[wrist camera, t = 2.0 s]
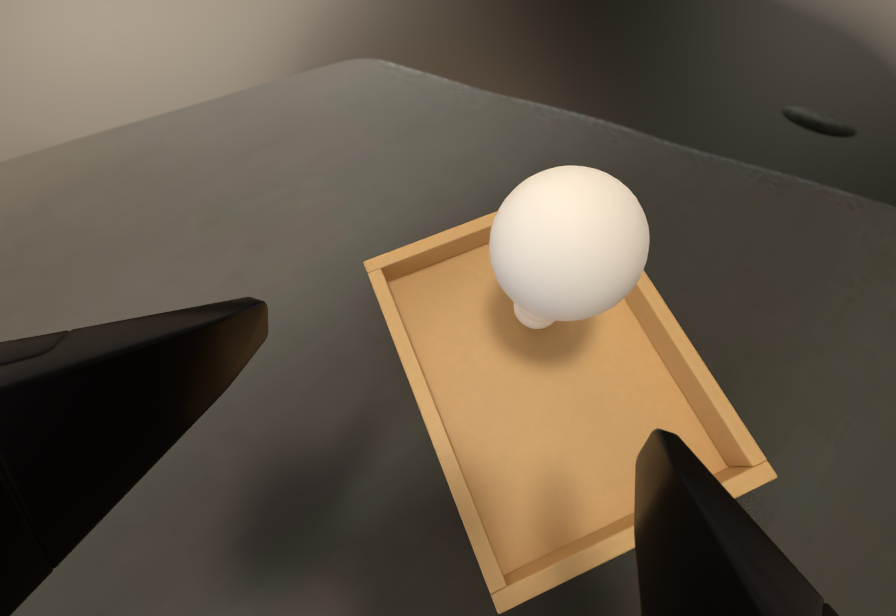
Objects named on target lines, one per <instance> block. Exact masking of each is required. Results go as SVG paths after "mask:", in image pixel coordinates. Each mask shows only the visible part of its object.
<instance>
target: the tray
mask: <svg viewBox="0 0 896 616" xmlns="http://www.w3.org/2000/svg"><path fill="white" fill-rule="evenodd" d="M497 212H498V211H496V212H494V213H491V214H488V215H486V216H483V217H480V218H478V219H475V220H473V221H470V222H467V223H465V224H462V225H459V226H457V227H454V228H451V229H449V230H446V231H443V232H441V233H438V234H435V235H433V236H430V237H428V238H425V239H422V240H420V241H417V242H414V243H412V244H409V245H406V246H404V247H401V248H398V249H396V250H393V251H390V252H388V253H385V254H383V255H380V256H377V257H375V258H372V259H369V260H367V261H364V265H365V268H366V270H367V273H368V276H369V278H370V281H371V284H372V286H373V289H374V291H375V294H376V297H377V299H378V302H379V305H380V307H381V310H382V312H383V315H384V318H385V320H386V323H387V325H388V328H389V331H390V333H391V336H392V338H393V341H394V344H395V346H396V349H397V352H398V354H399V357H400V359H401V362H402V365H403V367H404V370H405V372H406V375H407V378H408V380H409V383H410V386H411V388H412V391H413V393H414V396H415V399H416V401H417V404H418V406H419V409H420V412H421V414H422V417H423V419H424V422H425V425H426V427H427V430H428V433H429V435H430V438H431V440H432V443H433V446H434V448H435V451H436V453H437V456H438V459H439V461H440V464H441V467H442V469H443V472H444V474H445V477H446V480H447V482H448V485H449V487H450V490H451V493H452V495H453V498H454V501H455V503H456V506H457V508H458V511H459V514H460V516H461V519H462V521H463V524H464V527H465V529H466V532H467V534H468V537H469V540H470V542H471V545H472V548H473V550H474V553H475V555H476V558H477V561H478V563H479V566H480V568H481V571H482V574H483V576H484V579H485V582H486V584H487V587H488V589H489V592H490V593H491V597H492V600H493V602H494V605H495V608H496V610H497V612H498V614H501V613H503V612H505V611H507V610H509V609H511V608H513V607H515V606H517V605H519V604H521V603H523V602H525V601H527V600H529V599H531V598H533V597H535V596H537V595H539V594H541V593H544V592H546V591H548V590H550V589H552V588H554V587H556V586H558V585H560V584H562V583H564V582H566V581H568V580H570V579H572V578H574V577H576V576H578V575H580V574H582V573H584V572H586V571H588V570H590V569H592V568H594V567H596V566H598V565H601V564H603V563H605V562H607V561H609V560H611V559H613V558H615V557H617V556H619V555H621V554H623V553H625V552H627V551H629V550H631V549H633V548H635V542H634V501H635V464H636V459H637V456H638V454H639V452H640V450H641V449H642V447H643V445H644V444H645V442H646V440H647V439H648V437H649V435H650V434H651V432H652V431H653V430H654V429H657V428H660V429H663V430H666V431H669V432H672V433H675V434H677V435H678V436H679V437H680V438H681V439H682V440H683V441H684V443H685V444H686V445H687V446H688V447H689V448H690V449H691V450H692V452H693V453H694V454H695V455H696V456H697V457H698V458H699V459H700V461H701V462H702V463H703V464H704V465H705V466H706V467H707V468H708V470H709V471H710V472H711V473H712V474H713V475H714V476H715V477H716V479H717V480H718V481H719V482H720V483H721V484H722V485H723V486H724V488H725V489H726V490H727V491H728V492H729V493H730V494H731V495H732V496H733V498H734V499H735V498H737V497H739V496H741V495H743V494H745V493H747V492H749V491H751V490H753V489H755V488H757V487H759V486H761V485H763V484H765V483H767V482H769V481H772V480H774V479H776V478H777V475H776V473H775V472H774V470H773V469H772V467H771V466H770V464H769V463H768V462H767V461H766V458H765V456H764V454H763V453H762V451H761V450H760V448H759V447H758V445H757V444H756V442H755V441H754V439H753V438H752V436H751V434H750V433H749V431H748V430H747V428H746V427H745V425H744V424H743V422H742V421H741V419H740V418H739V416H738V414H737V413H736V411H735V410H734V408H733V407H732V405H731V404H730V402H729V401H728V399H727V398H726V396H725V394H724V393H723V391H722V390H721V388H720V387H719V385H718V384H717V382H716V381H715V379H714V378H713V376H712V375H711V373H710V371H709V370H708V368H707V367H706V365H705V364H704V362H703V361H702V359H701V358H700V356H699V355H698V353H697V351H696V350H695V348H694V347H693V345H692V344H691V342H690V341H689V339H688V338H687V336H686V335H685V333H684V331H683V330H682V328H681V327H680V325H679V324H678V322H677V321H676V319H675V318H674V316H673V315H672V313H671V311H670V310H669V308H668V307H667V305H666V304H665V302H664V301H663V299H662V298H661V296H660V295H659V293H658V291H657V290H656V288H655V287H654V285H653V284H652V282H651V281H650V279H649V278H648V276H647V275H646V273H645V271H644V270H643V271H642V273H641V276H640V278H639V281H638V282H637V283H636V285H635V286H634V287H633V289H632V290H631V292H630V293H629V294H628V295H627V296H626V297H625V298H624V299H622V300H621V301H620V302H619V303H618V304H617V305H615V306H614V307H613V308H611V309H609V310H607V311H605V312H603V313H601V314H599V315H596V316H593V317H590V318H586V319H583V320H577V321H567V322H566V321H555V322H553V323H552V324H551V325H550V326H548V327H546V328H543V329H532V328H529V327H527V326H525V325H523V324H522V323H521V322H520V321H519V320H518V319H517V317H516V315H515V313H514V302H513V301H512V300H511V298H510V297H509V296H508V295H507V294H506V293H505V292H504V290H503V289H502V287H501V286H500V284H499V283H498V281H497V278H496V276H495V273H494V270H493V268H492V265H491V261H490V254H489V241H490V231H491V227H492V224H493V221H494V218H495V216H496V214H497Z"/></svg>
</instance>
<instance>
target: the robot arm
mask: <svg viewBox="0 0 896 616" xmlns="http://www.w3.org/2000/svg"><path fill="white" fill-rule="evenodd" d="M267 335H268V308H267V304H266V303H265V302H264V301H261V300H258V299H255V298H252V297H245V298H239V299H234V300H229V301H223V302H218V303H213V304H207V305H202V306H196V307H191V308H186V309H180V310H175V311H170V312H164V313H159V314H153V315H148V316H143V317H137V318H132V319H127V320H121V321H116V322H111V323H105V324H100V325H94V326H89V327H84V328H78V329H73V330H71V331H70V332H69V331H62V332H56V333H51V334H46V335H40V336H34V337H29V338H23V339H17V340H11V341H5V342H0V616H10V615H11V614H12V613H13V612H14V611H15V610H16V609H17V608H18V607H19V606H20V605H21V604H22V603H23V602H24V601H25V599H26V598H27V597H28V596H29V595H30V594H31V593H32V592H33V591H34V590H35V589H36V588H37V587H38V586H39V585H40V584H41V583H42V582H43V581H44V580H45V579H46V578H47V577H48V576H49V574H50V573H51V572H52V571H53V568H56V567H57V566H58V565H59V564H60V563H61V562H62V561H63V560H64V558H65V557H66V556H67V555H68V554H69V553H70V552H71V551H72V550H73V549H74V548H75V547H76V546H77V545H78V544H79V543H80V542H81V541H82V540H83V539H84V538H85V537H86V536H87V535H88V533H89V532H90V531H91V530H92V529H93V528H94V527H95V526H96V525H97V524H98V523H99V522H100V521H101V520H102V519H103V518H104V517H105V516H106V515H107V514H108V513H109V512H110V511H111V509H112V508H113V507H114V506H115V505H116V504H117V503H118V502H119V501H120V500H121V499H122V498H123V497H124V496H125V495H126V494H127V493H128V492H129V491H130V490H131V489H132V488H133V487H134V486H135V484H136V483H137V482H138V481H139V480H140V479H141V478H142V477H143V476H144V475H145V474H146V473H147V472H148V471H149V470H150V469H151V468H152V467H153V466H154V465H155V464H156V463H157V462H158V461H159V459H160V458H161V457H162V456H163V455H164V454H165V453H166V452H167V451H168V450H169V449H170V448H171V447H172V446H173V445H174V444H175V443H176V442H177V441H178V440H179V439H180V438H181V437H182V436H183V434H184V433H185V432H186V431H187V430H188V429H189V428H190V427H191V426H192V425H193V424H194V423H195V422H196V421H197V420H198V419H199V418H200V417H201V416H202V415H203V414H204V413H205V412H206V411H207V409H208V408H209V407H210V406H211V405H212V404H213V403H214V402H215V401H216V400H217V399H218V398H219V397H220V396H221V395H222V394H223V393H224V392H225V390H226V389H227V388H228V387H229V386H230V385H231V383H232V382H233V381H234V380H235V378H236V377H237V376H238V375H239V373H240V372H241V371H242V369H243V368H244V367H245V366H246V364H247V363H248V362H249V360H250V359H251V358H252V357H253V355H254V354H255V353H256V351H257V350H258V349H259V348H260V346H261V345H262V344H263V342H264V341H265V339H266V338H267ZM634 542H635V554H636V564H637V575H638V586H639V596H640V607H641V616H839V615H838V614H837V613H836V612H835V611H834V610H833V609H832V607H831V606H830V605H829V604H827V603H824V599H823V598H822V596H821V595H820V594H819V593H818V592H817V591H816V590H815V589H814V587H813V586H812V585H811V584H810V583H809V582H808V581H807V580H806V578H805V577H804V576H803V575H802V574H801V573H800V572H799V571H798V569H797V568H796V567H795V566H794V565H793V564H792V563H791V562H790V560H789V559H788V558H787V557H786V556H785V555H784V554H783V553H782V551H781V550H780V549H779V548H778V547H777V546H776V545H775V544H774V543H773V541H772V540H771V539H770V538H769V537H768V536H767V535H766V534H765V532H764V531H763V530H762V529H761V528H760V527H759V526H758V525H757V523H756V522H755V521H754V520H753V519H752V518H751V517H750V516H749V514H748V513H747V512H746V511H745V510H744V509H743V508H742V507H741V505H740V504H739V503H738V502H737V501H736V500H735V499H734V498H733V496H732V495H731V494H730V493H729V492H728V491H727V490H726V489H725V488H724V486H723V485H722V484H721V483H720V482H719V481H718V480H717V479H716V477H715V476H714V475H713V474H712V473H711V472H710V471H709V470H708V468H707V467H706V466H705V465H704V464H703V463H702V462H701V461H700V459H699V458H698V457H697V456H696V455H695V454H694V453H693V452H692V450H691V449H690V448H689V447H688V446H687V445H686V444H685V443H684V441H683V440H682V439H681V438H680V437H679V436H678V435H677V434H675V433H672V432H669V431H666V430H663V429H660V428H657V429H654V430H653V431H652V432H651V434H650V435H649V437H648V439H647V440H646V442H645V444H644V445H643V447H642V449H641V450H640V452H639V454H638V456H637V459H636V464H635V501H634Z"/></svg>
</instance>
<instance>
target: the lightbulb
mask: <svg viewBox="0 0 896 616" xmlns="http://www.w3.org/2000/svg"><path fill="white" fill-rule="evenodd" d="M649 240H650V239H649V227H648V223H647V220H646V217H645V214H644V212H643V209H642V207H641V206H640V204H639V202H638V200H637V198H636V197H635V196H634V195H633V193H632V192H631V191H630V190H629V189H628V188H627V187H626V186H625V185H624V184H622V183H621V182H620V181H619V180H617V179H616V178H614V177H612V176H611V175H609V174H607V173H605V172H602V171H600V170H597V169H594V168H589V167H584V166H560V167H555V168H551V169H547V170H544V171H542V172H539V173H537V174H535V175H533V176H531V177H529V178H527V179H526V180H525V181H523V182H522V183H520V184H519V185H518V186H517V187H516V188H515V189H514V190H513V191H512V192H511V193H510V194H509V195H508V197H507V198H506V199H505V200H504V202H503V203H502V205H501V207H500V208H499V210H498V212H497V214H496V216H495V218H494V221H493V224H492V227H491V231H490V241H489V254H490V261H491V265H492V268H493V270H494V273H495V276H496V278H497V281H498V283H499V284H500V286H501V287H502V289H503V290H504V292H505V293H506V294H507V295H508V296H509V297H510V298H511V300H512V301H513V302H514V313H515V315H516V317H517V319H518V320H519V321H520V322H521V323H522V324H523V325H525V326H527V327H529V328H532V329H543V328H546V327H548V326H550V325H551V324H552V323H553V322H555V321H566V322H567V321H577V320H583V319H586V318H590V317H593V316H596V315H599V314H601V313H603V312H605V311H607V310H609V309H611V308H613V307H614V306H615V305H617V304H618V303H619V302H620V301H621V300H622V299H624V298H625V297H626V296H627V295H628V294H629V293H630V292H631V290H632V289H633V287H634V286H635V285H636V283H637V282H638V281H639V278H640V276H641V273H642V271H643V269H644V266H645V264H646V261H647V256H648V250H649Z"/></svg>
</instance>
